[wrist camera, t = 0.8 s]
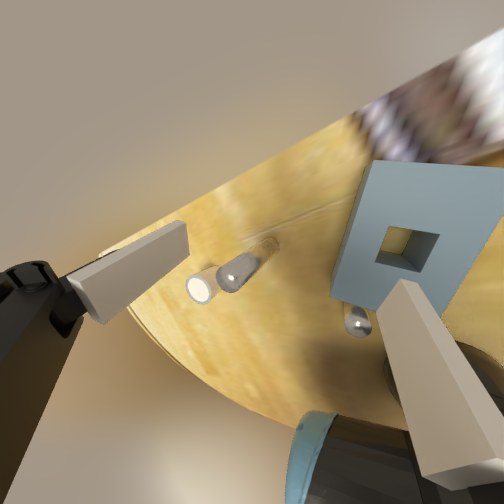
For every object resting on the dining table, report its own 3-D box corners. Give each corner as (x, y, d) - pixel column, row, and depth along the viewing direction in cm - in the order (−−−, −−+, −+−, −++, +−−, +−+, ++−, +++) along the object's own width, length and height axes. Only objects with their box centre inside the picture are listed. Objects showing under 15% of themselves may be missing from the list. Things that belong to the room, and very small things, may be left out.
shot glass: (234, 282, 42) (217, 297, 36) (217, 293, 45) (198, 309, 39) (217, 258, 42) (197, 269, 36) (201, 271, 45) (180, 283, 39)
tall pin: (277, 256, 35) (239, 296, 22) (261, 251, 37) (215, 287, 23) (280, 239, 34) (242, 270, 20) (263, 235, 35) (216, 262, 22)
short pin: (362, 316, 32) (367, 340, 27) (341, 309, 33) (341, 331, 28) (369, 300, 31) (375, 322, 26) (346, 293, 32) (348, 313, 27)
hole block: (412, 300, 28) (432, 329, 22) (331, 277, 32) (329, 296, 26) (477, 176, 22) (531, 169, 16) (365, 167, 26) (373, 159, 20)
